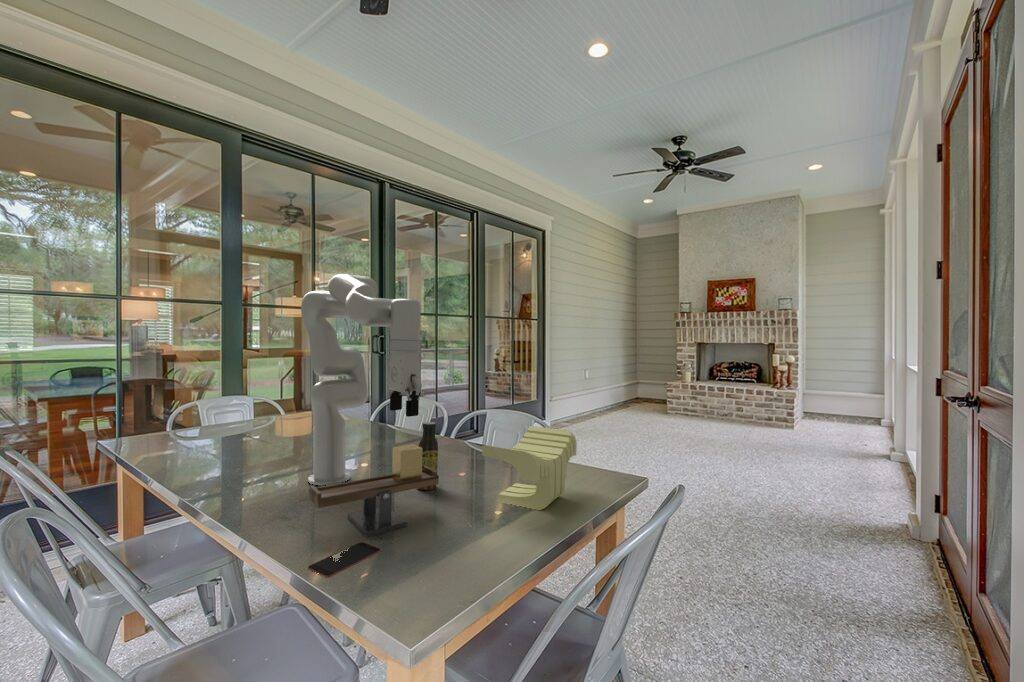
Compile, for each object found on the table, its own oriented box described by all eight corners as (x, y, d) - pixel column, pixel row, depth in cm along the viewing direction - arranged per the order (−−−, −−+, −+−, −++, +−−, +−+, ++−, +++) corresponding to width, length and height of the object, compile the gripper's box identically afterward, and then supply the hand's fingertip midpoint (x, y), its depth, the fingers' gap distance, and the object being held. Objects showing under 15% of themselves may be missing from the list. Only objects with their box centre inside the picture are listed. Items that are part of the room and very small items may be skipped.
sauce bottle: (419, 492, 137) (420, 425, 136) (413, 486, 142) (414, 421, 142) (440, 489, 140) (441, 423, 139) (434, 483, 145) (434, 420, 145)
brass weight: (392, 477, 120) (392, 447, 120) (413, 473, 124) (413, 444, 124) (400, 482, 116) (400, 451, 116) (421, 478, 120) (422, 448, 120)
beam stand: (347, 518, 117) (348, 483, 117) (385, 509, 123) (386, 476, 123) (366, 536, 107) (366, 498, 106) (406, 526, 113) (407, 489, 112)
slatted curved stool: (535, 524, 115) (537, 453, 115) (481, 511, 123) (482, 445, 122) (575, 488, 142) (576, 431, 142) (528, 480, 149) (529, 425, 149)
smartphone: (383, 549, 100) (327, 577, 89) (383, 551, 100) (327, 580, 89) (361, 540, 104) (305, 566, 92) (361, 543, 104) (305, 569, 92)
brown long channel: (308, 500, 109) (309, 484, 109) (424, 478, 127) (424, 465, 127) (318, 511, 102) (318, 494, 102) (438, 486, 121) (438, 472, 121)
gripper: (378, 345, 123) (376, 409, 124) (406, 348, 110) (404, 420, 110) (404, 345, 128) (402, 406, 129) (434, 348, 114) (432, 417, 115)
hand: (403, 412), depth 119 cm, fingers open, 9 cm apart
